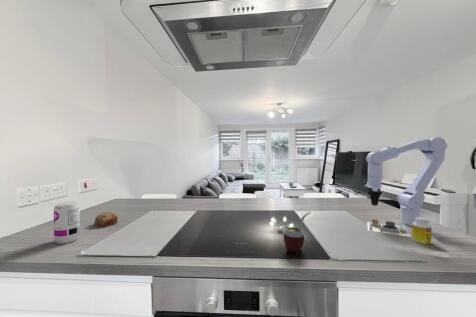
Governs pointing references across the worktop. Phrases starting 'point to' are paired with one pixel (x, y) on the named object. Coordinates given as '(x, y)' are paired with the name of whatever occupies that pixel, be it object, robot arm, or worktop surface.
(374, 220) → the tan block
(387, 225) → the black push button
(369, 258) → the worktop surface
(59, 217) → the supplement can
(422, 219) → the supplement bottle
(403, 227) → the grey rocker switch
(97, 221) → the bread roll
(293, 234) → the mate gourd
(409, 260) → the worktop surface
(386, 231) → the switch board
